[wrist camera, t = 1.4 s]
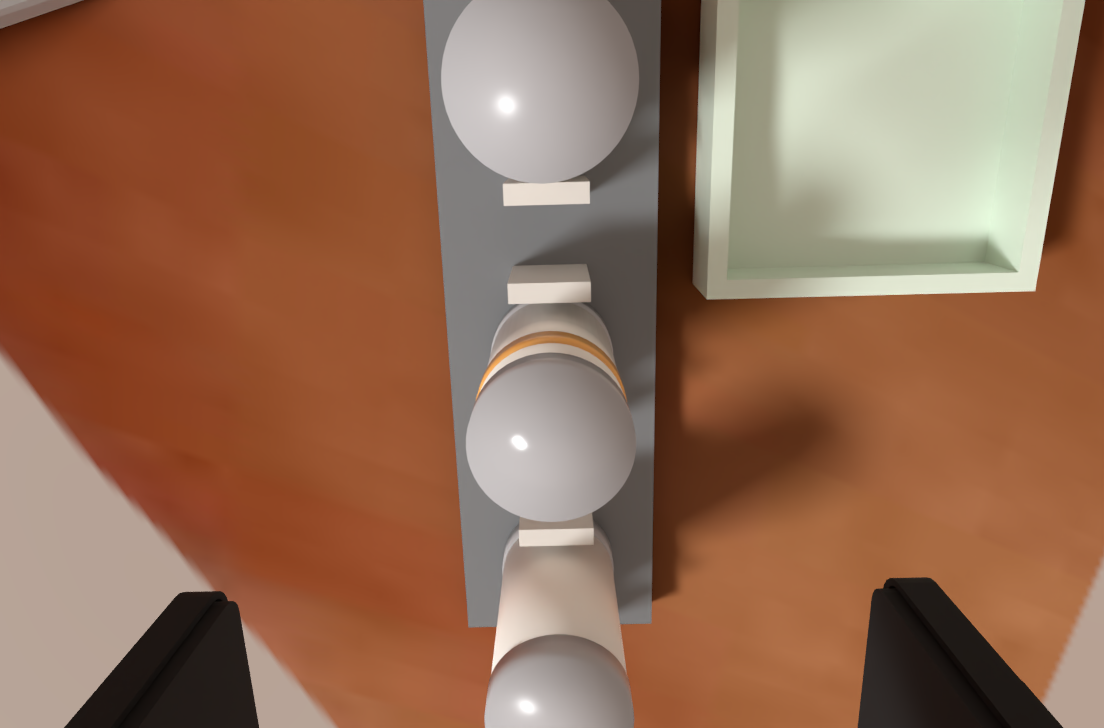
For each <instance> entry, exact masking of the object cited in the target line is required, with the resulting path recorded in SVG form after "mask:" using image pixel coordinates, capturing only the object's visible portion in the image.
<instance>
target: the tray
mask: <svg viewBox="0 0 1104 728" xmlns="http://www.w3.org/2000/svg"><path fill="white" fill-rule="evenodd" d="M1084 5H1085V0H701V22H700V55H699V88H698V121H697V153H696V186H695V219H694V252H693V285H694V286H695V287H696V288H697V289H698V290H699V291H700V293H701V294H702V295H703V296H704V297H705V298H706V299H707V300H708V299H747V298H785V297H824V296H862V295H901V294H939V293H978V292H1016V291H1035V288H1036V282H1037V277H1038V271H1039V265H1040V259H1041V254H1042V248H1043V242H1044V236H1045V230H1046V225H1047V219H1048V213H1049V207H1050V201H1051V196H1052V190H1053V184H1054V178H1055V173H1056V167H1057V161H1058V155H1059V149H1060V144H1061V138H1062V132H1063V126H1064V120H1065V115H1066V109H1067V103H1068V97H1069V91H1070V86H1071V80H1072V74H1073V68H1074V63H1075V57H1076V51H1077V45H1078V39H1079V34H1080V28H1081V22H1082V16H1083V10H1084Z"/></svg>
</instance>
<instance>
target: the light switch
mask: <svg viewBox="0 0 1104 728" xmlns="http://www.w3.org/2000/svg"><path fill="white" fill-rule="evenodd" d="M80 1H82V0H0V29H1V28H4V27H7V26H10V25H13V24H16V23H18V22H21V21H24V20H27V19H30V18H33V17H36V16H39V15H42V14H45V13H48V12H50V11H53V10H56V9H59V8H62V7H65V6H68V5H71V4H74V3H77V2H80Z"/></svg>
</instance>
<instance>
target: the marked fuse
mask: <svg viewBox="0 0 1104 728" xmlns="http://www.w3.org/2000/svg"><path fill="white" fill-rule="evenodd" d="M466 453H467V459H468V463H469V466H470V469H471V471H472V474H473V476H474V478H475V480H476V481H477V483H478V484H479V486H480V487H481V489H482V490H483V491H484V492H485V494H486V495H487V496H488V497H489V498H490V499H492V500H493V501H494V502H495V503H496V504H498V505H499V506H500V507H502V508H503V509H505V510H507V511H509V512H511V513H513V514H515V515H517V516H520V517H523V518H526V519H530V520H535V521H542V522H560V521H567V520H572V519H576V518H579V517H582V516H585V515H587V514H589V513H592V512H594V511H596V510H597V509H599V508H600V507H602V506H603V505H605V504H606V503H607V502H608V501H610V500H611V499H612V498H613V497H614V496H615V495H616V494H617V493H618V492H619V490H620V489H621V488H622V486H623V485H624V483H625V482H626V480H627V478H628V476H629V474H630V472H631V469H632V466H633V463H634V459H635V454H636V433H635V428H634V424H633V420H632V416H631V413H630V409H629V406H628V403H627V399H626V394H625V390H624V387H623V383H622V380H621V377H620V374H619V372H618V370H617V368H616V364H615V360H614V356H613V347H612V343H611V339H610V335H609V332H608V329H607V326H606V325H605V323H604V321H603V319H602V318H601V316H600V315H599V314H598V312H597V311H596V310H595V309H594V308H593V307H592V306H590V305H589V304H588V303H586V302H575V303H536V304H515V305H514V306H513V307H511V308H510V309H509V310H508V311H507V313H506V314H505V315H504V316H503V318H502V319H501V321H500V323H499V325H498V327H497V329H496V332H495V336H494V339H493V343H492V347H491V355H490V359H489V362H488V366H487V368H486V370H485V372H484V374H483V377H482V380H481V383H480V387H479V390H478V394H477V397H476V401H475V404H474V407H473V411H472V414H471V417H470V421H469V424H468V428H467V434H466Z"/></svg>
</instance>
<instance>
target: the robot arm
mask: <svg viewBox="0 0 1104 728" xmlns="http://www.w3.org/2000/svg"><path fill="white" fill-rule="evenodd" d="M64 728H259V724H258V719H257V713H256V707H255V702H254V695H253V689H252V683H251V677H250V671H249V665H248V660H247V654H246V648H245V643H244V636H243V630H242V624H241V618H240V612H239V608H238V605H237V604H236V602H234V601H228V600H227V597H226V596H225V594H224V593H223V592H221V591H213V592H183V593H180V594H178V595H177V596H176V597H175V598H174V599H173V601H172V602H171V603H170V604H169V605H168V606H167V608H166V609H165V610H164V611H163V612H162V614H161V615H160V616H159V617H158V618H157V619H156V620H155V622H154V623H153V624H152V625H151V626H150V628H149V629H148V630H147V631H146V632H145V634H144V635H143V636H142V637H141V638H140V639H139V641H138V642H137V643H136V644H135V645H134V646H133V648H132V649H131V650H130V651H129V652H128V653H127V655H126V656H125V657H124V658H123V660H121V662H120V663H119V664H118V665H117V666H116V667H115V669H114V670H113V671H112V672H111V673H110V675H109V676H108V677H107V678H106V679H105V680H104V682H103V683H102V684H101V685H100V686H99V687H98V689H97V690H96V691H95V692H94V693H93V695H92V696H91V697H90V698H89V699H88V700H87V702H86V703H85V704H84V705H83V706H82V708H81V709H80V710H79V711H78V712H77V713H76V714H75V716H74V717H73V718H72V719H71V720H70V721H69V723H68V724H67V725H66V726H65V727H64ZM858 728H1063V727H1062V726H1061V725H1060V723H1059V722H1058V721H1057V720H1056V719H1055V718H1054V717H1053V715H1051V713H1050V712H1049V711H1048V710H1047V709H1046V707H1045V706H1044V705H1043V704H1042V703H1041V702H1040V701H1039V699H1038V698H1037V697H1036V696H1035V695H1034V694H1033V692H1032V691H1031V690H1030V689H1029V688H1028V687H1027V686H1026V684H1025V683H1024V682H1023V681H1021V680H1020V679H1019V677H1018V676H1017V675H1016V674H1015V673H1014V672H1013V671H1012V669H1011V668H1010V667H1009V666H1008V665H1007V664H1006V663H1005V661H1004V660H1003V659H1002V658H1001V657H1000V656H999V654H998V653H997V652H996V651H995V650H994V649H993V648H992V646H991V645H990V644H989V643H988V642H987V641H986V640H985V638H984V637H983V636H982V635H981V634H980V633H979V632H978V630H977V629H976V628H975V627H974V626H973V625H972V624H971V622H970V621H969V620H968V619H967V618H966V617H965V615H964V614H963V613H962V612H961V611H960V610H959V609H958V607H957V606H956V605H955V604H954V603H953V602H952V601H951V599H950V598H949V597H948V596H947V595H946V594H945V593H944V591H943V590H942V589H941V588H940V587H939V586H938V584H937V583H936V582H935V581H933V580H932V579H931V578H927V577H926V578H889V579H888V580H886V582H885V584H884V587H883V589H876V590H874V592H873V595H872V601H871V611H870V620H869V629H868V638H867V647H866V656H865V666H864V675H863V684H862V693H861V702H860V711H859V721H858Z"/></svg>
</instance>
